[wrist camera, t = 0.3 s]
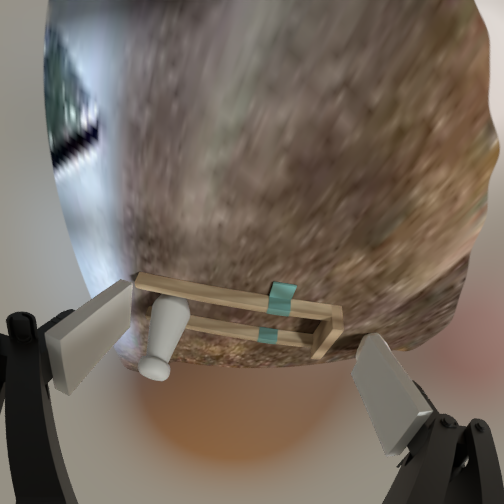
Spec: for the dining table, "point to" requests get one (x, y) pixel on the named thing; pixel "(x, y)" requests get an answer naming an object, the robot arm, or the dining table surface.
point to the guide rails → (272, 304)
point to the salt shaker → (164, 335)
